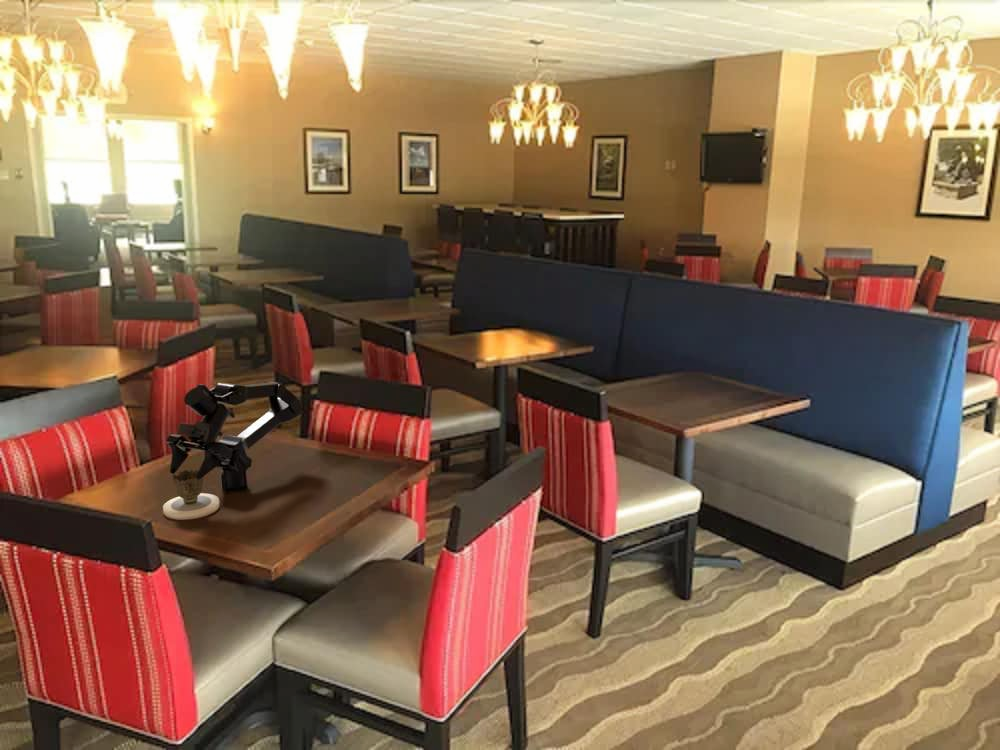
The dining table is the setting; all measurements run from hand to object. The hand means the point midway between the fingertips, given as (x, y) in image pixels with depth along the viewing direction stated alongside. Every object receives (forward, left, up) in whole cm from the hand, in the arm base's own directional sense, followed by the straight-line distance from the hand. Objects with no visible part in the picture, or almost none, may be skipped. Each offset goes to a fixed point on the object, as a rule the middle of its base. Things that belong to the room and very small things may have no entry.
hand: (184, 476), depth 211 cm
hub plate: (-1, -1, -10) cm, 10 cm away
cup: (-1, -1, -8) cm, 8 cm away
